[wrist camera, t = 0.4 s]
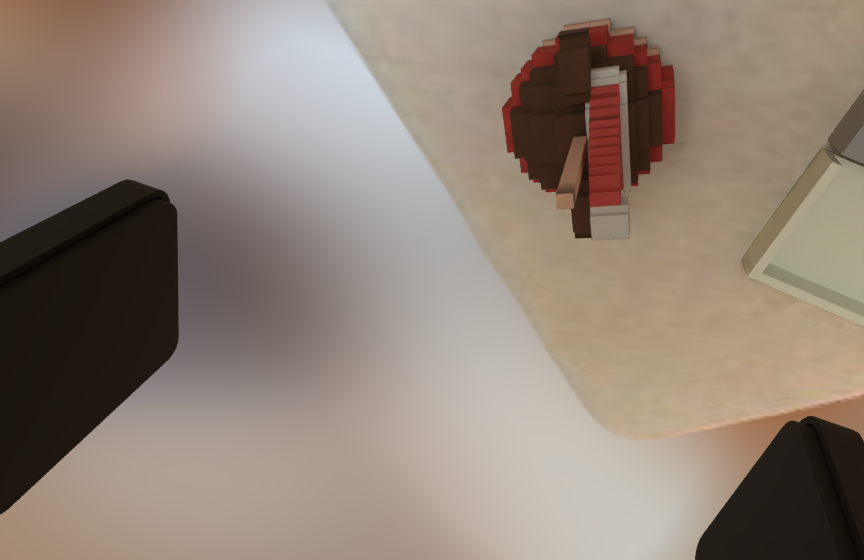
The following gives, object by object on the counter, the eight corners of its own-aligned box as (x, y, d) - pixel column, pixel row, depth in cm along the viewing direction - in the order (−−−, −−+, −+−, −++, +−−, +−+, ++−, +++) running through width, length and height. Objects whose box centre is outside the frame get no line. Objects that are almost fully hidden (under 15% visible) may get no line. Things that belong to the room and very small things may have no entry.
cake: (511, 20, 40) (432, 82, 25) (669, -5, 37) (689, 47, 21) (529, 181, 44) (473, 314, 29) (671, 170, 41) (688, 313, 26)
